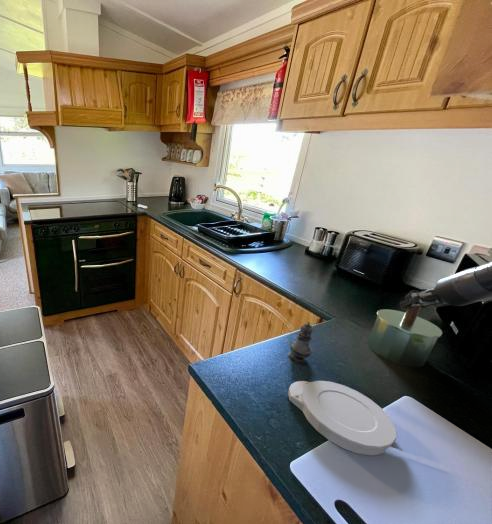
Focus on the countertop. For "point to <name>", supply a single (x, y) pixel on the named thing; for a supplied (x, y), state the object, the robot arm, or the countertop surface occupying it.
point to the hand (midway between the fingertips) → (407, 306)
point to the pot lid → (409, 322)
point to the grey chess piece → (301, 345)
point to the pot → (400, 345)
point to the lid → (344, 416)
